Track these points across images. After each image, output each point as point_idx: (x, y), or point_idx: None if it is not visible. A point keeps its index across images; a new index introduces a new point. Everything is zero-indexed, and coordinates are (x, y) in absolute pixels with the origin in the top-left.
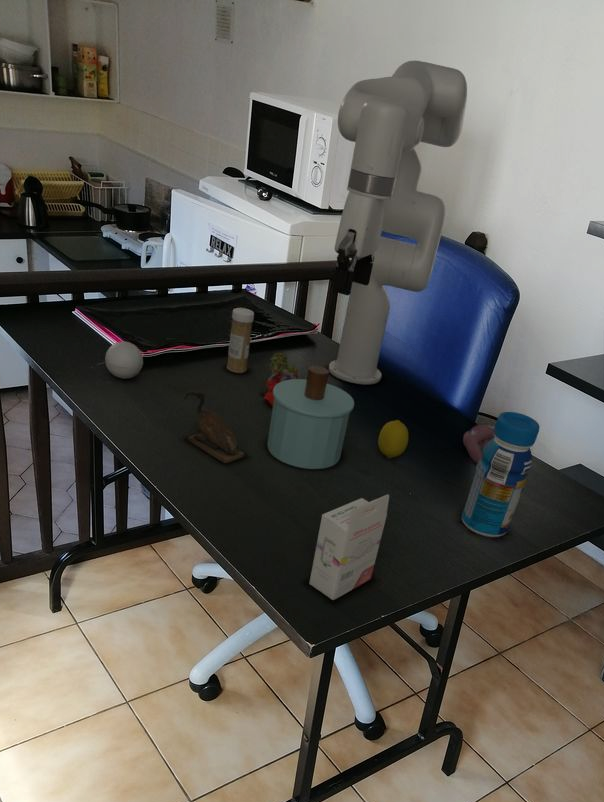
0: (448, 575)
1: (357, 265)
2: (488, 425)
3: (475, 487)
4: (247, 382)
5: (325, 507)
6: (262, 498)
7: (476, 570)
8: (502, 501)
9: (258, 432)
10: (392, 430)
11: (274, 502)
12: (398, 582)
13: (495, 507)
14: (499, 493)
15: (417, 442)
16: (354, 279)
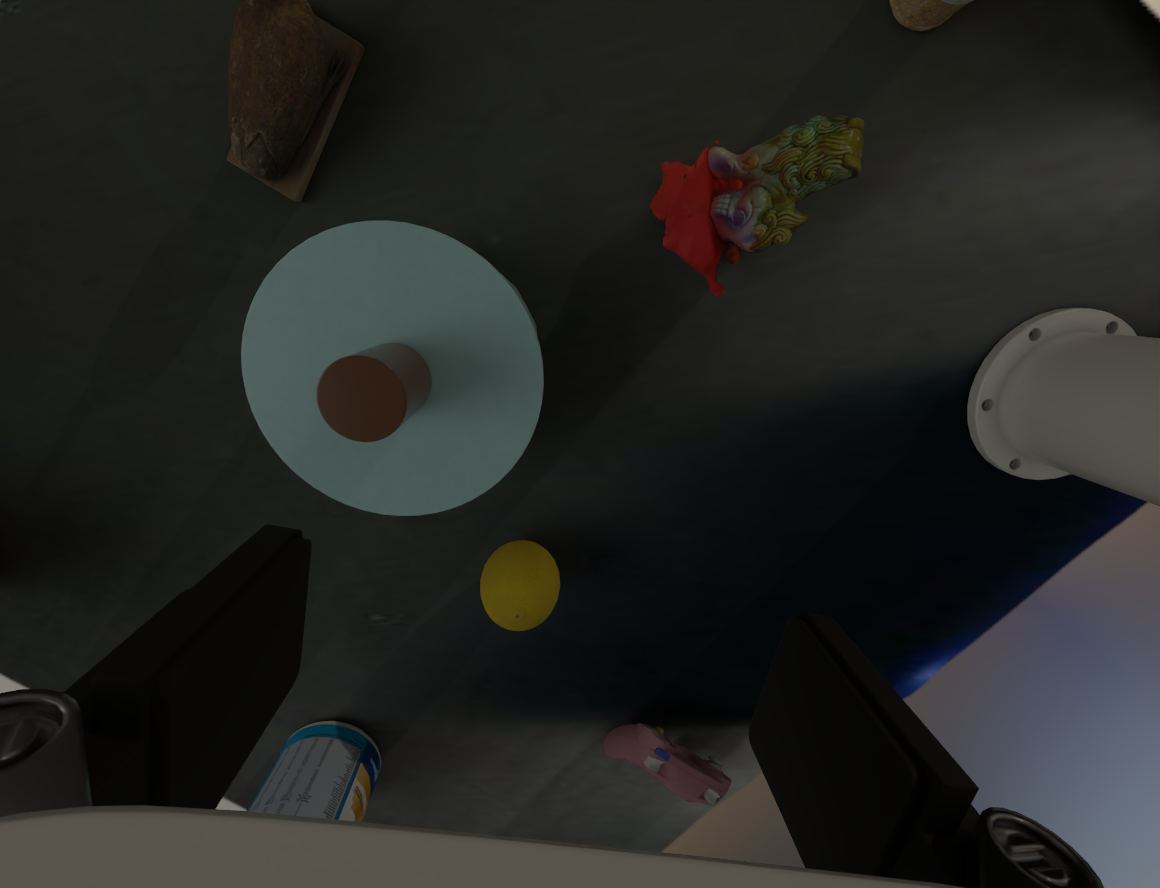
0: None
1: (864, 758)
2: (715, 792)
3: (263, 804)
4: (826, 65)
5: (190, 457)
6: (128, 308)
7: None
8: None
9: (475, 203)
10: (488, 597)
11: (131, 341)
12: (14, 631)
13: None
14: None
15: (651, 608)
16: (792, 644)
